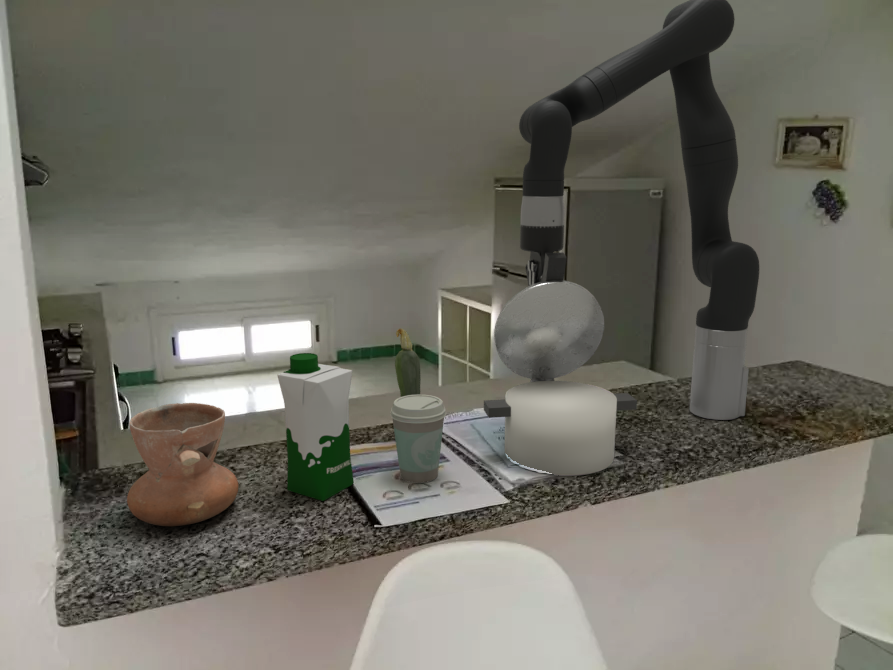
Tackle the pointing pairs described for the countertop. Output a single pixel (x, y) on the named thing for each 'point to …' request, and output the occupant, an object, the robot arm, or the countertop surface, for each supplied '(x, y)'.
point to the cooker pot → (560, 425)
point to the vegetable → (407, 367)
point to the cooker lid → (549, 326)
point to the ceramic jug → (180, 465)
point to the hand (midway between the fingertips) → (539, 320)
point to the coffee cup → (418, 436)
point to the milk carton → (317, 426)
